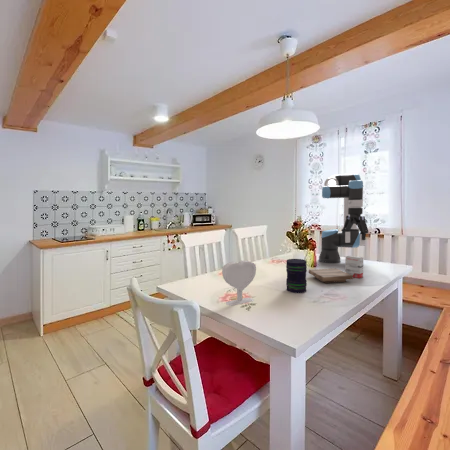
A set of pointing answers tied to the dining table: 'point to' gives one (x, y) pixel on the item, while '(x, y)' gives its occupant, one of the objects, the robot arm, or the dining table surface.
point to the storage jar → (296, 275)
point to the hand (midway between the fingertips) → (354, 244)
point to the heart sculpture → (239, 278)
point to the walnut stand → (330, 275)
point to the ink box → (354, 266)
